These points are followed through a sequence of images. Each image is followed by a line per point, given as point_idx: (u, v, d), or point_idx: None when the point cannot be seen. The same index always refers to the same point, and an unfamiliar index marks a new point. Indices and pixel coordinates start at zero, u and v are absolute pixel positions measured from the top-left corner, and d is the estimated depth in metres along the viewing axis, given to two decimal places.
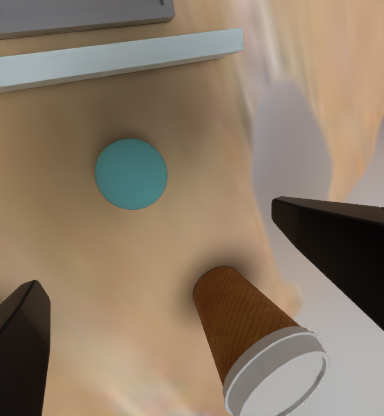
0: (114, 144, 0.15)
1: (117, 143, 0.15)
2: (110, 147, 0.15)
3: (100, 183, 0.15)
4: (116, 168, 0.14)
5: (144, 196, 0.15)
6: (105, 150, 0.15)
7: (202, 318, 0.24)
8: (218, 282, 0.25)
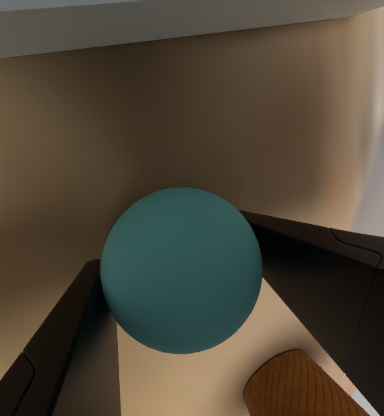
0: (151, 211, 0.06)
1: (158, 208, 0.06)
2: (141, 219, 0.06)
3: (115, 312, 0.06)
4: (162, 290, 0.05)
5: (223, 339, 0.06)
6: (128, 225, 0.06)
7: None
8: (293, 389, 0.15)
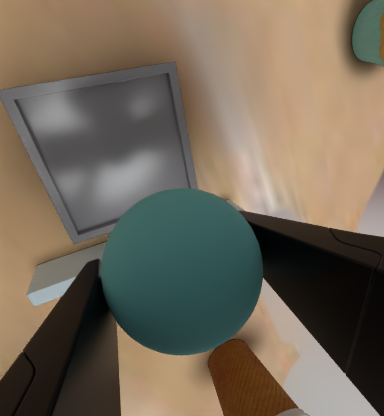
0: (151, 212, 0.06)
1: (159, 210, 0.06)
2: (141, 221, 0.06)
3: (116, 313, 0.06)
4: (163, 292, 0.05)
5: (224, 341, 0.06)
6: (128, 226, 0.06)
7: (217, 389, 0.30)
8: (229, 358, 0.31)
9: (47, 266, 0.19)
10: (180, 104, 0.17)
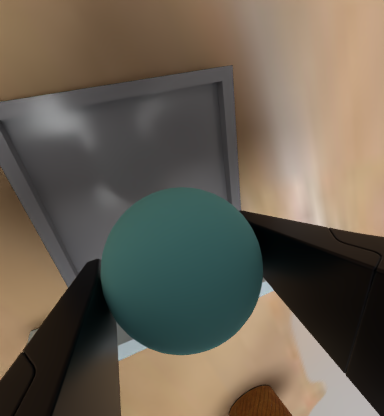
0: (151, 211, 0.06)
1: (158, 209, 0.06)
2: (141, 220, 0.06)
3: (115, 313, 0.06)
4: (162, 291, 0.05)
5: (224, 340, 0.06)
6: (128, 225, 0.06)
7: None
8: (257, 413, 0.26)
9: None
10: (232, 124, 0.13)
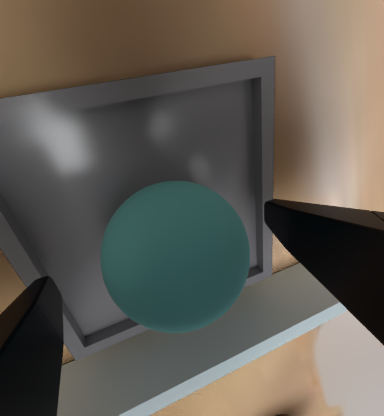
0: (146, 201, 0.07)
1: (153, 199, 0.07)
2: (137, 209, 0.07)
3: (114, 293, 0.06)
4: (156, 271, 0.06)
5: (213, 319, 0.07)
6: (125, 214, 0.07)
7: None
8: None
9: None
10: (270, 133, 0.10)
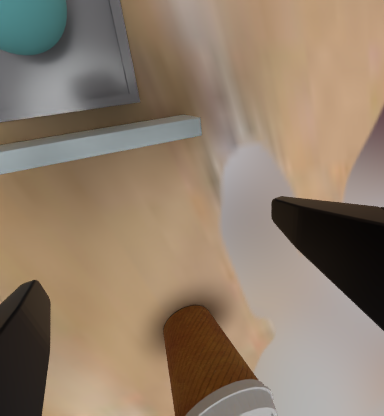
0: None
1: None
2: None
3: None
4: None
5: None
6: None
7: (167, 358, 0.25)
8: (185, 324, 0.26)
9: None
10: None
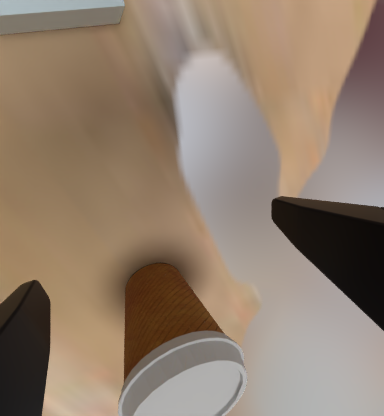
0: None
1: None
2: None
3: None
4: None
5: None
6: None
7: (125, 319, 0.22)
8: (146, 280, 0.22)
9: None
10: None
